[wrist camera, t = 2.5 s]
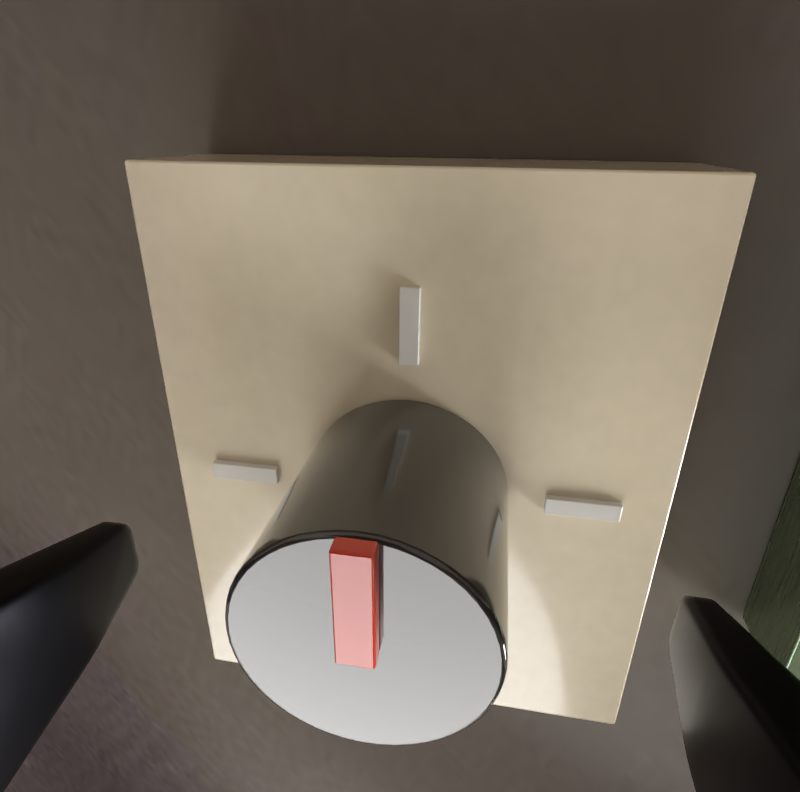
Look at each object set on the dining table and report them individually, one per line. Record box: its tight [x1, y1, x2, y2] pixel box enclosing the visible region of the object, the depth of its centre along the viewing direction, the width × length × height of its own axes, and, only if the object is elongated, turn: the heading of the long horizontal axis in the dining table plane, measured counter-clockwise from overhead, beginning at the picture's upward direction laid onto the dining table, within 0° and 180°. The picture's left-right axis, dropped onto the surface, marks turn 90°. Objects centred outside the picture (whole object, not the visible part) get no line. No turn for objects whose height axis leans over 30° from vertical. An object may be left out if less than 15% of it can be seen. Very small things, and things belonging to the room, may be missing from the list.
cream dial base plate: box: [125, 154, 756, 724], centre depth 13 cm, size 12×10×3 cm
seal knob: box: [225, 400, 508, 746], centre depth 9 cm, size 4×4×4 cm
